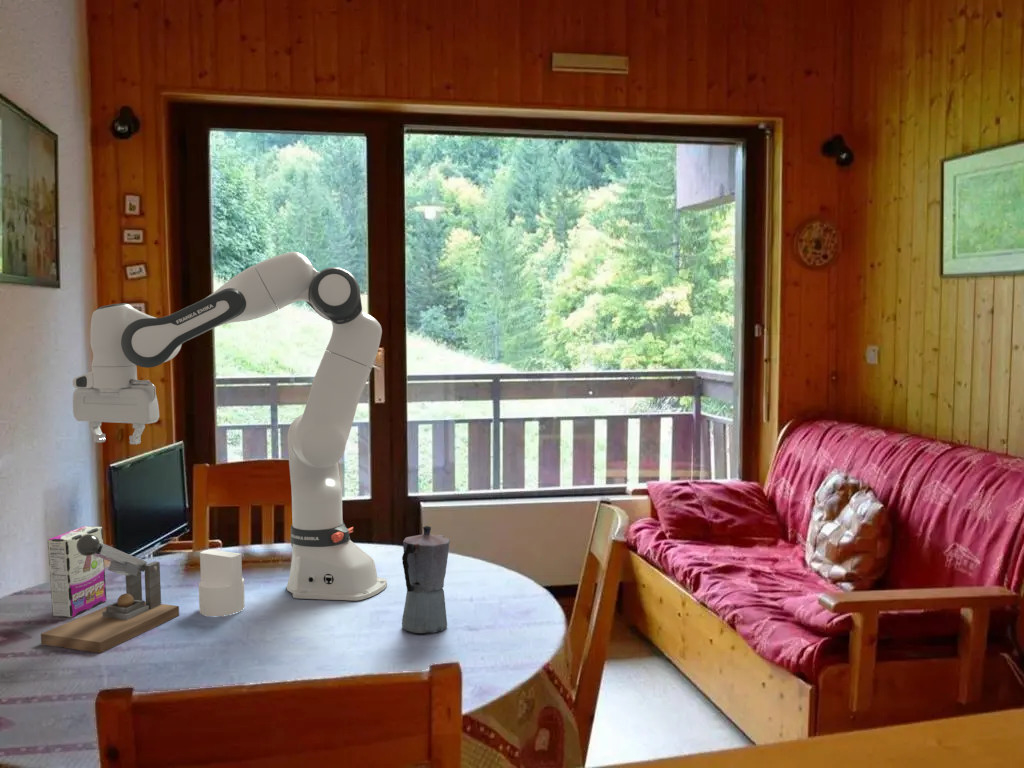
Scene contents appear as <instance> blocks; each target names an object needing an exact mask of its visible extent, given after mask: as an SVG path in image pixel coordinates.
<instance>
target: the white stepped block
mask: <svg viewBox="0 0 1024 768" xmlns="http://www.w3.org/2000/svg"><path fill="white" fill-rule="evenodd" d="M199 562H200V563H199V565H200V581H199V582H198V604H199V611H198V612H199V613H201V614H202V616H204V615H206V616H205V617H208V616H222V617H225V616H224V615H229V616H231V615H230V614H233V613H236V612H239V611H241V610H243V608H244V607H246V606H245V605H246V603H245V602H246V601H245V598H246V597H245V579H244V577H243V569H242V568H243V565H242V564H243V563H242V553H238V552H233V551H232V552H231V551H226V550H225V551H224V550H218V549H211V548H209V549H206V550H203V551H201V552H199ZM244 609H245V608H244ZM243 611H244V610H243ZM241 612H242V611H241ZM239 613H240V612H239ZM201 614H200V615H201ZM236 614H237V613H236ZM233 615H234V614H233Z"/></svg>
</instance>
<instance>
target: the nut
mask: <svg viewBox="0 0 1024 768" xmlns="http://www.w3.org/2000/svg"><path fill="white" fill-rule="evenodd" d="M116 602H117V603H118V606H119V607H124V608H127V607H129V606H132V605H133V603H134V599H133V597H132V595H130V594H126V593H123V594H121V595H120V596H119V597H118V598H117V601H116Z"/></svg>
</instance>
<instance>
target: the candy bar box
mask: <svg viewBox="0 0 1024 768" xmlns="http://www.w3.org/2000/svg"><path fill="white" fill-rule="evenodd" d="M88 534H90V535H94V536H96V537H97V538H98V539H99V541H100V543H102V544H104V538H103V537H104V536H103V534H104V533H103V527H102V526H93V525H91V526H90V525H83V526H80V527H78V528H75V529H72V530H69V531H67V532H64V533H62V534H59V535H56V536H54V537H53V536H52V537H51V538H48V539H47V552H48V567H49V578H50V579H49V580H50V581H49V584H50V598H51V610H52V611H51V612H52V613H51V614H52V617H55V618H74V617H77V616H78V615H81V614H82V613H84V612H87V611H88V610H90V609H93V608H94V607H96V606H98V605H101V604H103V603H104V602H107V587H106V586H107V585H106V569H105V568H106V567H105V559H102V558H100V557H97V556H95V555H91V556H84V555H82V554H80V553H79V552H78V550H77V542H78V540H79V539H80V538H81V537H82V536H84V535H88Z"/></svg>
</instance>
